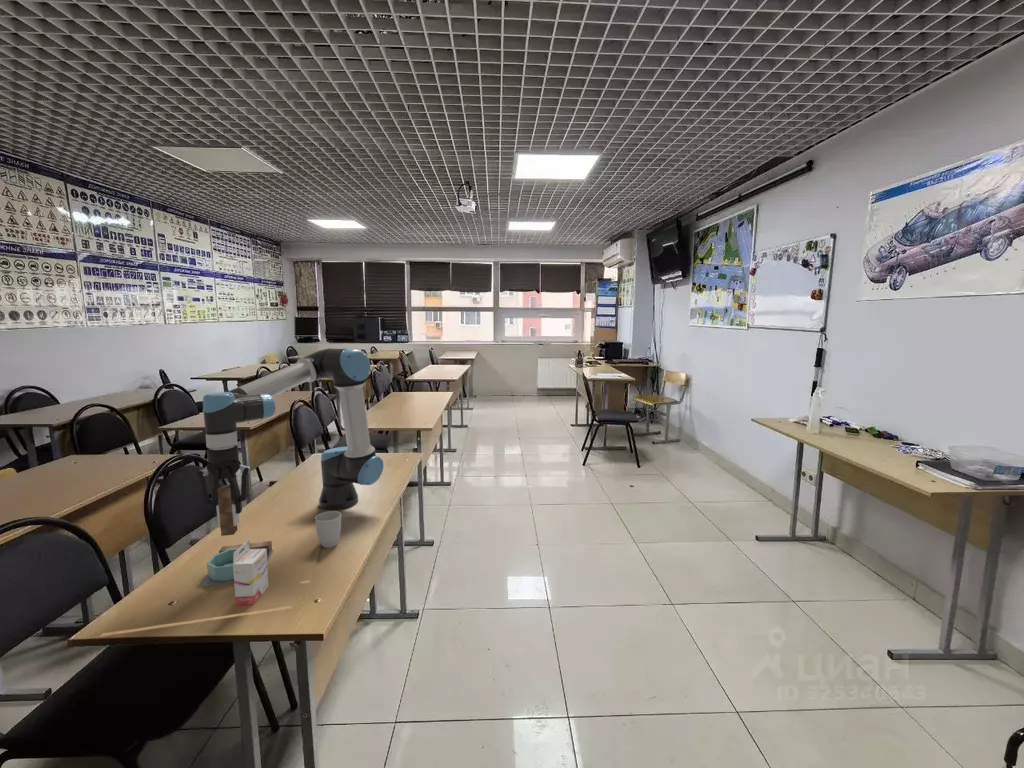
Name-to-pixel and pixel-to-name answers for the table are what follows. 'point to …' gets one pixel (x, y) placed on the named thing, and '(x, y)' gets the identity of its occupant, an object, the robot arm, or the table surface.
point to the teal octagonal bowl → (222, 566)
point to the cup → (328, 528)
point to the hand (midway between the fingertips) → (228, 524)
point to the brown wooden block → (226, 510)
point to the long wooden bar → (251, 546)
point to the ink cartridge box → (249, 574)
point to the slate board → (210, 582)
